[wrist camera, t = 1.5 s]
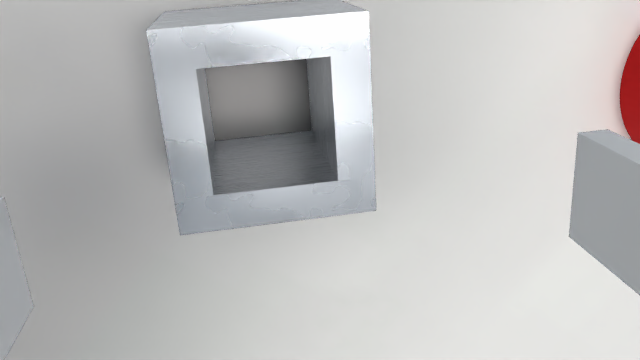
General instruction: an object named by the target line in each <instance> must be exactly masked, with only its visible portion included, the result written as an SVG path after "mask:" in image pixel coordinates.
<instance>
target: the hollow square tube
mask: <svg viewBox="0 0 640 360" xmlns="http://www.w3.org/2000/svg"><path fill="white" fill-rule="evenodd" d="M146 31H147V37H148V44H149V50H150V56H151V62H152V68H153V74H154V80H155V86H156V92H157V98H158V104H159V110H160V116H161V122H162V128H163V135H164V141H165V147H166V153H167V159H168V165H169V171H170V177H171V183H172V189H173V195H174V201H175V207H176V213H177V219H178V226H179V232H180V235H186V234H194V233H202V232H210V231H218V230H226V229H234V228H242V227H250V226H258V225H266V224H274V223H282V222H289V221H297V220H305V219H313V218H321V217H329V216H337V215H345V214H353V213H361V212H369V211H376V191H375V165H374V138H373V111H372V85H371V58H370V32H369V11H367V10H364V9H362V8H359V7H356V6H354V5H351V4H349V3H346V2H343V1H341V0H299V1H286V2H274V3H262V4H250V5H238V6H226V7H213V8H201V9H189V10H177V11H165V12H163V13H162V14H161V15H160V16H159V18H158V19H157V20H156V21H155V22H154V23H153V24H152V25H151V26H150V27H149V28H148V29H147V30H146ZM297 59H306V61H307V74H308V87H309V101H310V114H311V127H312V130H311V131H302V132H293V133H284V134H274V135H265V136H256V137H247V138H238V139H228V140H219V141H215V139H214V131H213V124H212V116H211V109H210V101H209V94H208V87H207V79H206V72H205V68H212V67H223V66H233V65H244V64H255V63H265V62H276V61H287V60H297Z"/></svg>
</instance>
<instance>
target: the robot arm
mask: <svg viewBox="0 0 640 360" xmlns="http://www.w3.org/2000/svg"><path fill="white" fill-rule="evenodd" d="M569 237H570V238H571V239H572V240H574V241H575V242H576V243H577V244H578V245H580V246H581V247H582V248H583V249H584V250H586V251H587V252H588V253H589V254H590V255H592V256H593V257H594V258H595V259H597V260H598V261H599V262H600V263H601V264H603V265H604V266H605V267H606V268H607V269H609V270H610V271H611V272H612V273H613V274H615V275H616V276H617V277H618V278H619V279H621V280H622V281H623V282H624V283H625V284H627V285H628V286H629V287H630V288H632V289H633V290H634V291H635V292H636V293H638V294H639V295H640V144H638V143H636V142H634V141H632V140H630V139H627V138H625V137H623V136H621V135H619V134H617V133H614V132H612V131H610V130H608V129H607V130H598V131H589V132H580V133H578V137H577V148H576V160H575V171H574V183H573V194H572V206H571V218H570V229H569ZM33 307H34V305H33V301H32V298H31V294H30V290H29V287H28V283H27V279H26V276H25V272H24V268H23V265H22V261H21V257H20V254H19V250H18V246H17V243H16V239H15V235H14V232H13V228H12V224H11V221H10V217H9V213H8V209H7V206H6V202H5V198H4V196H2V197H0V360H5V358H6V356H7V354H8V353H9V351H10V349H11V347H12V345H13V343H14V342H15V340H16V338H17V336H18V334H19V332H20V331H21V329H22V327H23V325H24V323H25V321H26V320H27V318H28V316H29V314H30V312H31V310H32V309H33Z"/></svg>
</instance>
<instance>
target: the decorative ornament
mask: <svg viewBox="0 0 640 360" xmlns="http://www.w3.org/2000/svg"><path fill="white" fill-rule="evenodd" d="M620 108H621V114H622V118H623V122H624V125H625V127H626V130H627V132H628V134H629V135H630V137H631V139H632V141H634V142H636V143H638V144H640V35H639V37H638V38H637V40H636V41H635V43H634V45H633V47H632V49H631V51H630V53H629V56H628V58H627V61H626V64H625V67H624V70H623V75H622V79H621V86H620Z"/></svg>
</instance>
